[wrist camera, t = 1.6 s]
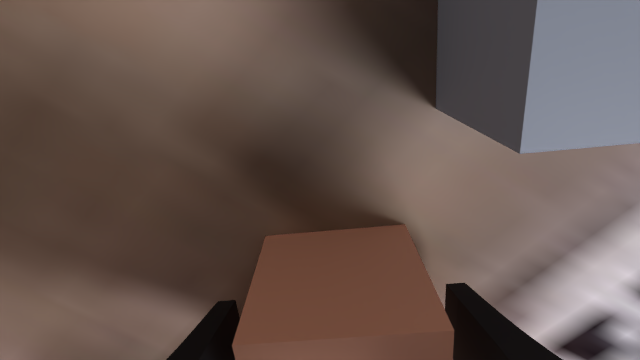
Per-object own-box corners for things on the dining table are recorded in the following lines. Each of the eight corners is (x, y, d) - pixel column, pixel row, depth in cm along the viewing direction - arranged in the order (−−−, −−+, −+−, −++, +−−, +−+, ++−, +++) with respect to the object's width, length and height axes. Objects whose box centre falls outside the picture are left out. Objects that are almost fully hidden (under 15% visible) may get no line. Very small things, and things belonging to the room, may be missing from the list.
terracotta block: (405, 331, 14) (446, 472, 9) (284, 339, 14) (265, 481, 10) (404, 223, 12) (454, 330, 8) (266, 234, 12) (231, 345, 8)
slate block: (598, 92, 11) (814, 127, 6) (434, 108, 11) (520, 153, 6) (635, -106, 9) (983, -278, 4) (438, -83, 9) (563, -222, 4)
